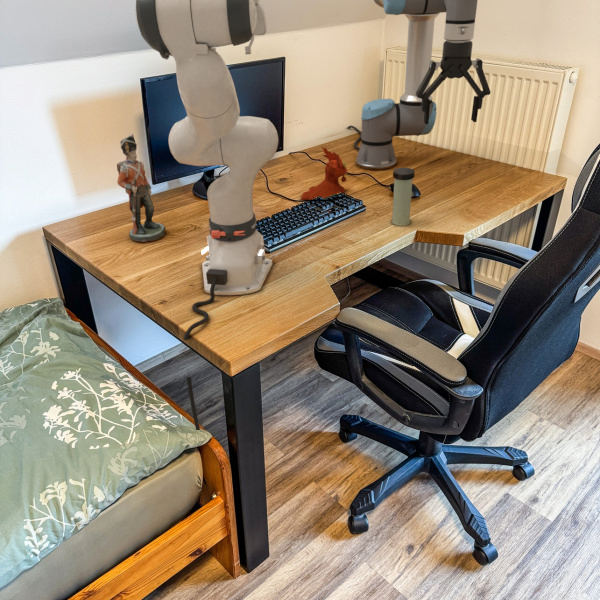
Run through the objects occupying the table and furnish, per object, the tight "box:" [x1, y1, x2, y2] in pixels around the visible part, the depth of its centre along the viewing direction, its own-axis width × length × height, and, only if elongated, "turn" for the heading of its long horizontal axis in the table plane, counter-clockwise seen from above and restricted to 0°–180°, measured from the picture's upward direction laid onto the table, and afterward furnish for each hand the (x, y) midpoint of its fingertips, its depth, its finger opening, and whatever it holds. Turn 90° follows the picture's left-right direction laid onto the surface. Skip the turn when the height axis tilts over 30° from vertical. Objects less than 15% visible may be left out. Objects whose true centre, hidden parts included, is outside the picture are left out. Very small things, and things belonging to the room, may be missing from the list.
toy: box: [300, 146, 348, 201], centre depth 188 cm, size 13×18×15 cm
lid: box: [392, 167, 416, 180], centre depth 162 cm, size 6×6×2 cm
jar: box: [391, 177, 413, 227], centre depth 166 cm, size 5×5×16 cm
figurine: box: [116, 132, 166, 243], centre depth 161 cm, size 11×11×30 cm
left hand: (231, 54), depth 151 cm, fingers open, 8 cm apart
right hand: (449, 122), depth 160 cm, fingers open, 13 cm apart
